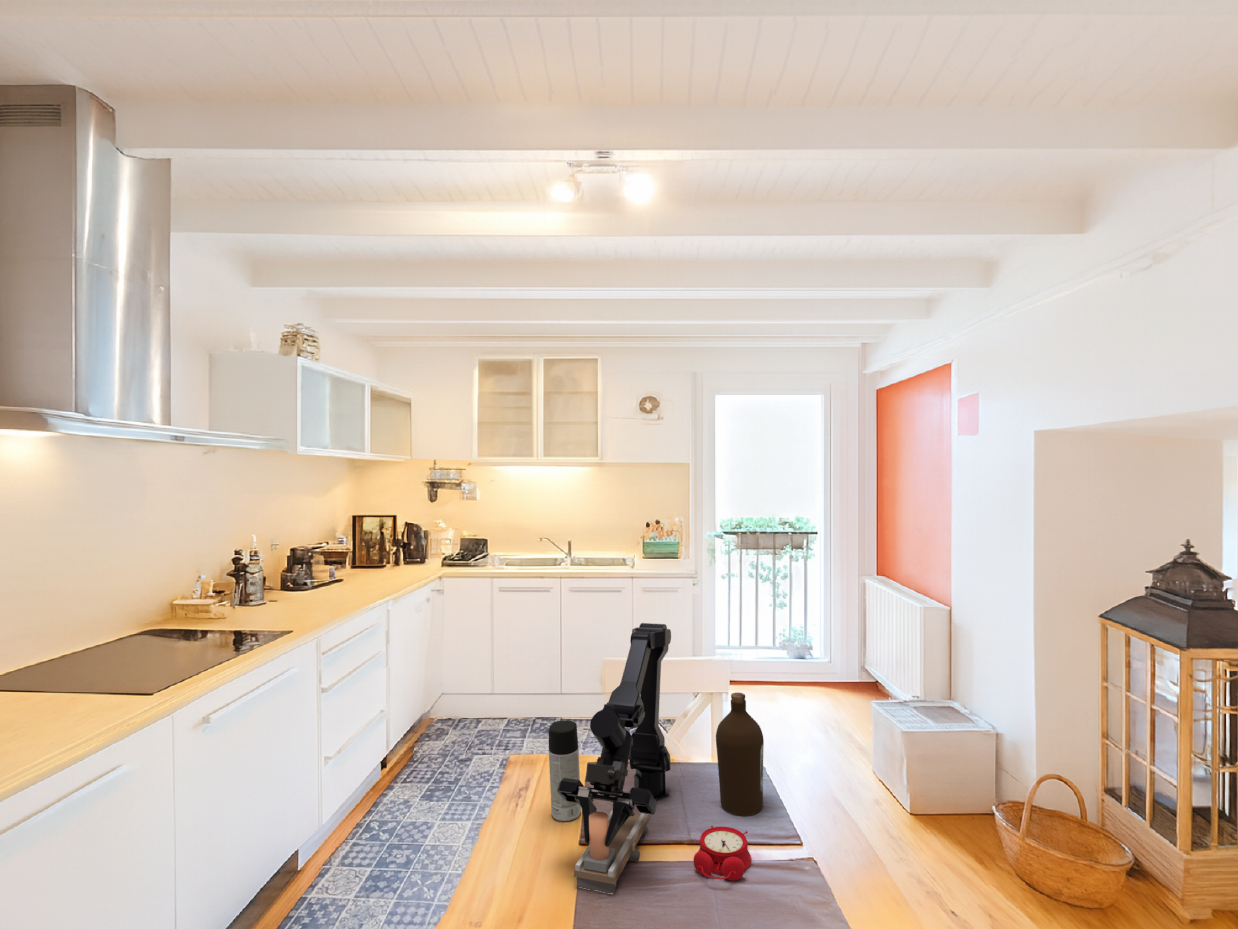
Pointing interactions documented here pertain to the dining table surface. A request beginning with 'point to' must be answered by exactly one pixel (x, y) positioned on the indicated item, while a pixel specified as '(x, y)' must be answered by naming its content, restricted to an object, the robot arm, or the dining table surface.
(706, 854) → the alarm clock
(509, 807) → the dining table surface
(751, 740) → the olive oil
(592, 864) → the rider
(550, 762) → the spray can
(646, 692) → the robot arm
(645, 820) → the brown piece
